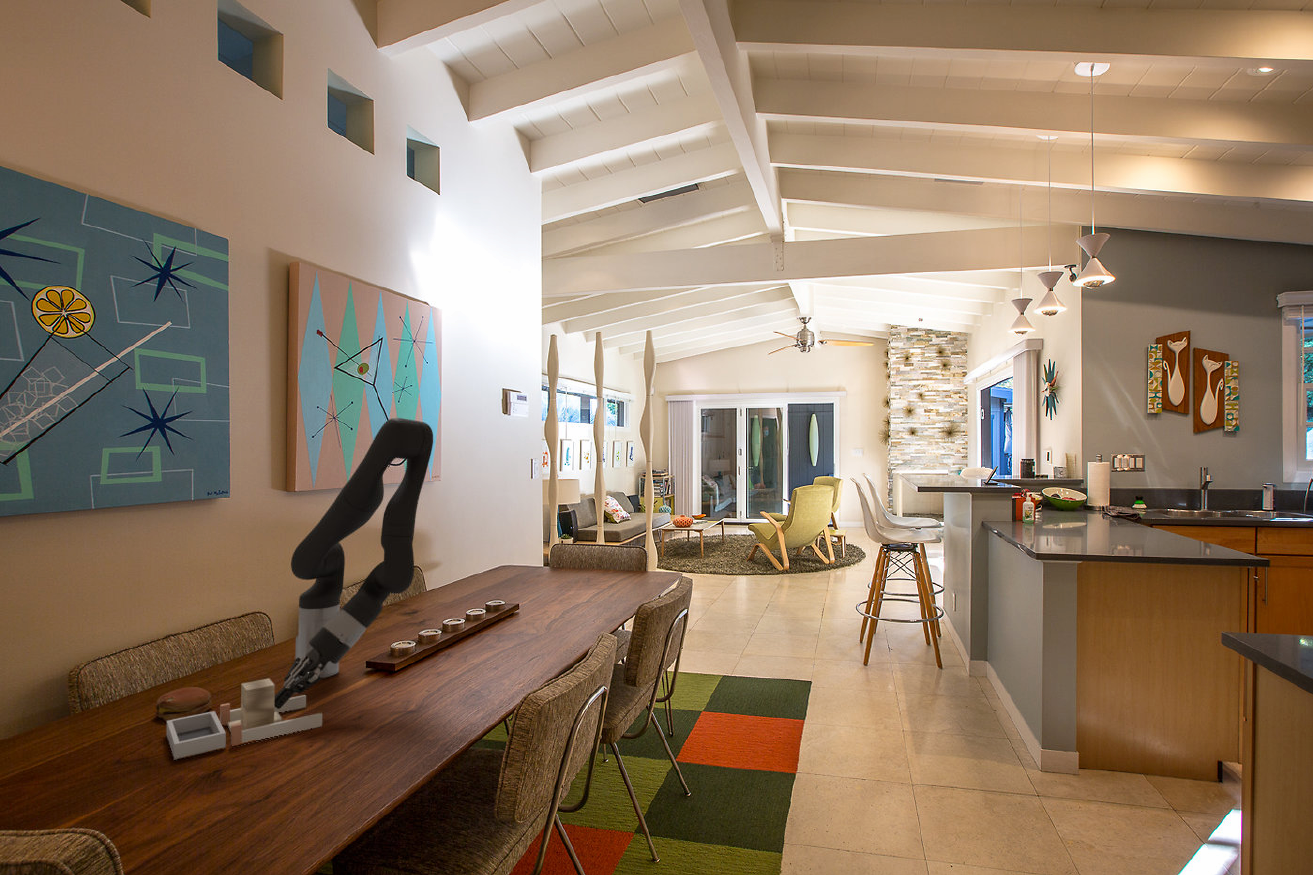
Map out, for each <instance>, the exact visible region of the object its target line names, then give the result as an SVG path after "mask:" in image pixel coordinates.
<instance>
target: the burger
mask: <svg viewBox="0 0 1313 875" xmlns="http://www.w3.org/2000/svg"><path fill="white" fill-rule="evenodd" d="M211 697H212V696H211V693H210V692H209V691H208V689H207V690H206V689H204V688H201V687H197V686H195V687H194V686H190V687H188V686H187V687H182V688H177V689H175V690H172V691H169V692H167V693H164V694H163V695H161V696H160V697H159V698H158V699H157V700H156V706H155V709H156V710H157V711H156V712H155V713H154V714H155V715H158V718H160V719H163V720H164V721H166V722H167V721H168V720H173V719H178V718H183V717H188V716H193V715H198V714H203V713H206V712H208V710H210V709H211V708H212V707H213V706H212V704H213V703H212V701H213V700H212V699H211Z"/></svg>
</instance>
